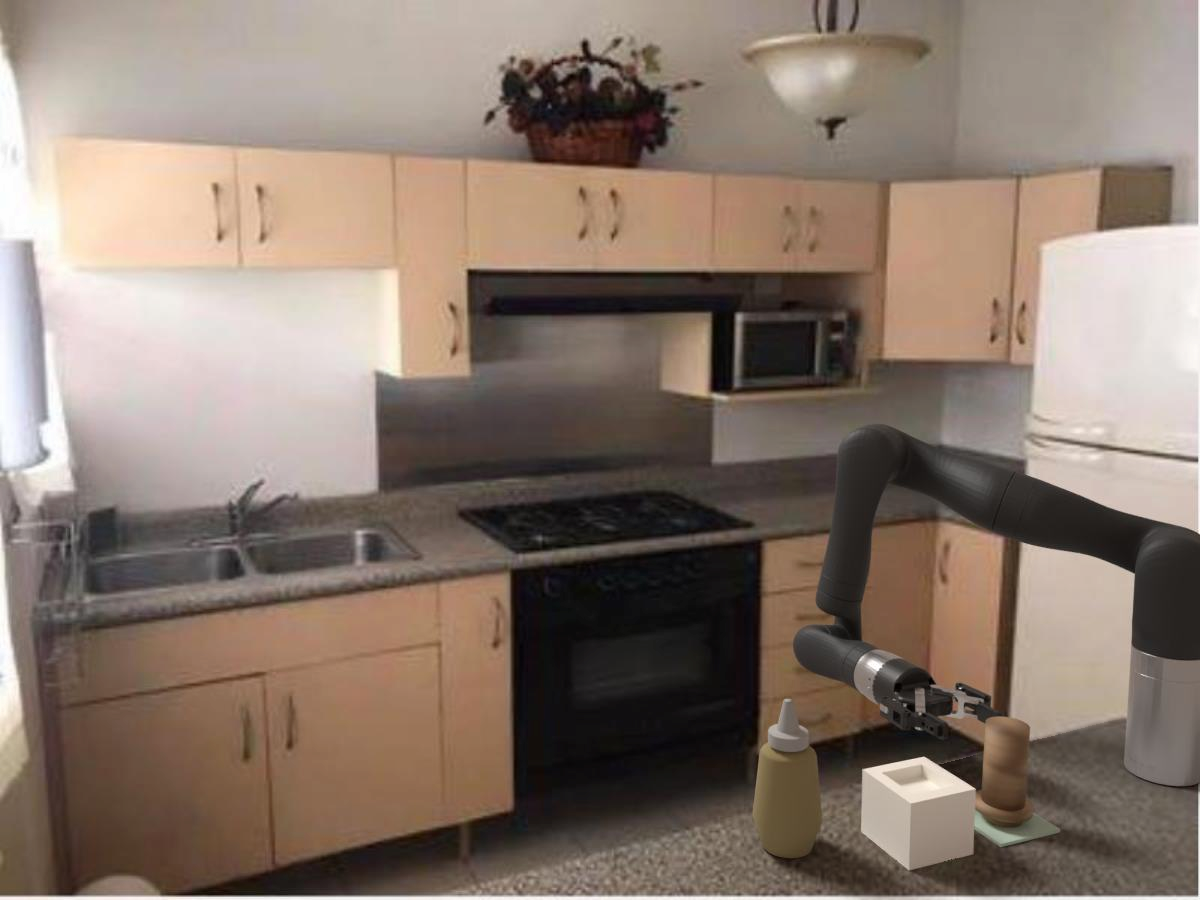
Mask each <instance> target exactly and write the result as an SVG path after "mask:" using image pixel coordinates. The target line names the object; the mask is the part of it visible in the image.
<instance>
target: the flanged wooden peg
mask: <svg viewBox="0 0 1200 900" xmlns="http://www.w3.org/2000/svg"><path fill="white" fill-rule="evenodd" d="M984 728H985V729H984V740H983V741H984V743H983V744H984V745H983V759H982V760H983V761H982V779H981V782H982V783H981V789H978V790H976V797H975V809H976V810H977V811H978V812H979V813H981V814H982V816H983V818H984V819H985V820H986V821H988V822H989V823H991V824H994V825H997V826H1001V827H1009V828H1011V827H1018V826H1020V825H1021V824H1022V822H1025V821H1028V820H1030V819H1031V818H1032V816H1033V813H1034V804H1033V802H1032V801H1031V800H1030V799H1029V798H1028V797H1027V784H1028V770H1029V769H1028V767H1029V750H1030V749H1029V748H1030V733H1031V726H1030V725H1029V724H1028V723H1027V722H1025V721H1023V720H1020V719H1018V718H1014V717H1009V716H1003V717H991V718H988V719H987V720H986V722H985V723H984Z"/></svg>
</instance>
